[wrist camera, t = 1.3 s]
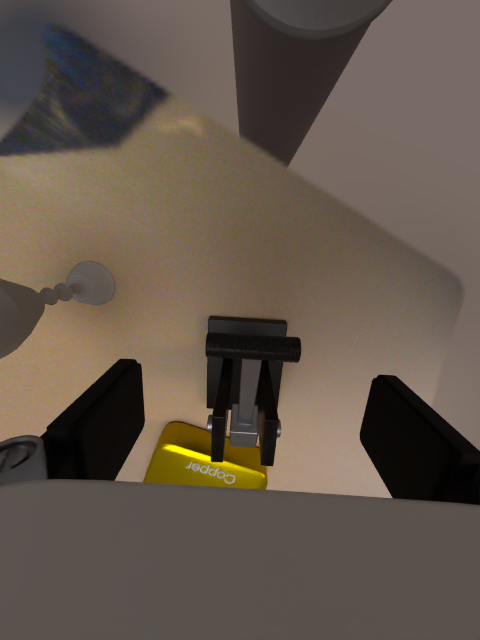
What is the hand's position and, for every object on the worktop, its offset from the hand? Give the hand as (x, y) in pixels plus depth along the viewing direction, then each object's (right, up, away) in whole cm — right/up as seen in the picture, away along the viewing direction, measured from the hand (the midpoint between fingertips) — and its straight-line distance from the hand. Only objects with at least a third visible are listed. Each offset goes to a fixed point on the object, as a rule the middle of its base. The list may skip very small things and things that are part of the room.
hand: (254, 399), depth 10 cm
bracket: (0, -2, +21) cm, 22 cm away
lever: (0, -1, +9) cm, 9 cm away
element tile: (-6, -19, +27) cm, 34 cm away
